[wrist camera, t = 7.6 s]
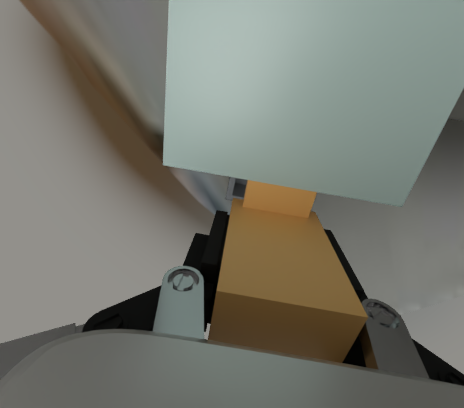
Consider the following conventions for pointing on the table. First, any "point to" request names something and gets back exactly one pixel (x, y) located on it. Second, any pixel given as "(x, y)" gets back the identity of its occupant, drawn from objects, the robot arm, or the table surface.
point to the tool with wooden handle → (304, 142)
